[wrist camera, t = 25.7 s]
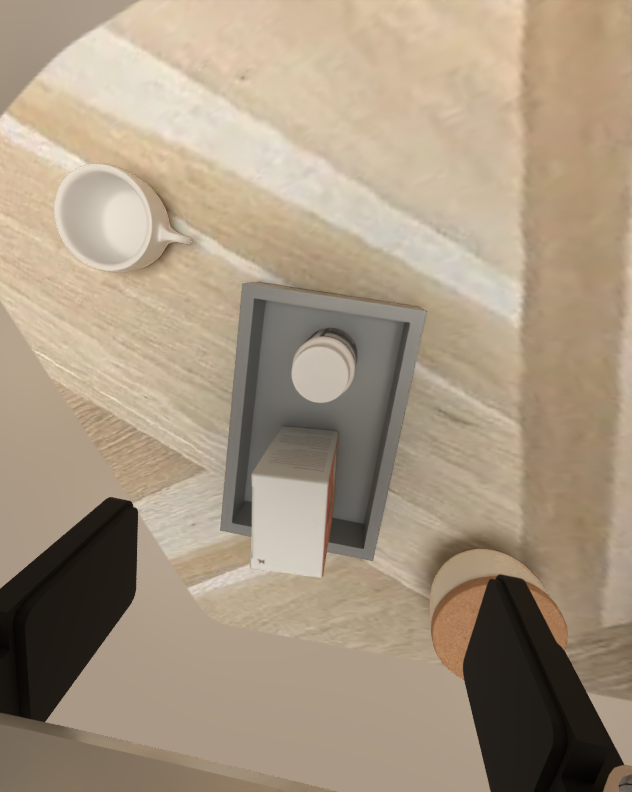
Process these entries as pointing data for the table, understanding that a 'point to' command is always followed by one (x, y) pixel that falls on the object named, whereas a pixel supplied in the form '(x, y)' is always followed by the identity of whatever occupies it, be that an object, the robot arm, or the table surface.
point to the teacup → (112, 219)
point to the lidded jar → (477, 601)
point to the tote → (347, 414)
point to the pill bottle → (324, 365)
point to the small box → (294, 502)
